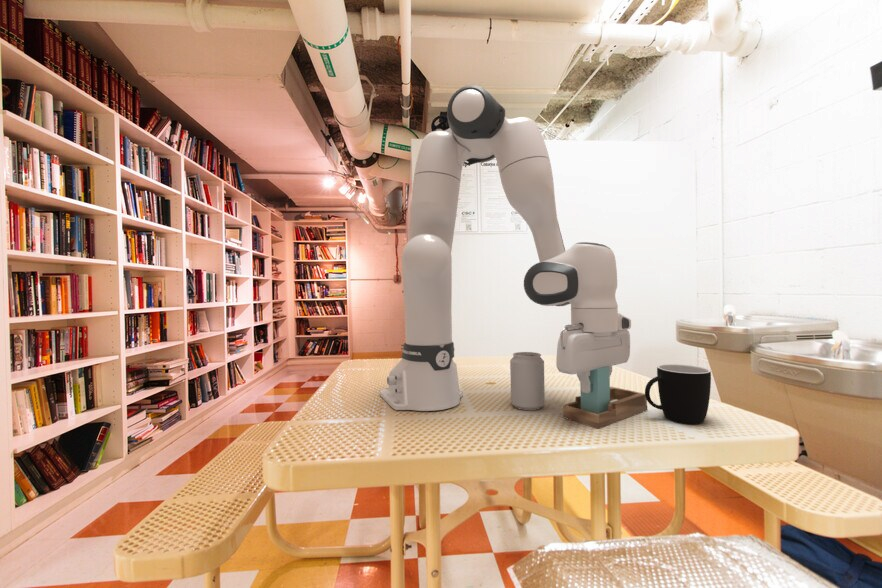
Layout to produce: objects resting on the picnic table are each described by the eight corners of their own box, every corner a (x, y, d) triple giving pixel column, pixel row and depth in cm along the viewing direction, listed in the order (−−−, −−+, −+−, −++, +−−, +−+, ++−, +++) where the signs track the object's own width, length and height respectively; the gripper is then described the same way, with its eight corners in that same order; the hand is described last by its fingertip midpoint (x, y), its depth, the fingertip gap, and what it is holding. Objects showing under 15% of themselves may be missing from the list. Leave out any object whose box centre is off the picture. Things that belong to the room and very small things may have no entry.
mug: (691, 411, 79) (690, 363, 79) (723, 426, 70) (722, 372, 70) (634, 412, 79) (633, 364, 79) (658, 427, 70) (658, 373, 70)
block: (598, 414, 73) (597, 368, 73) (580, 409, 76) (580, 365, 76) (610, 410, 75) (609, 366, 75) (592, 405, 79) (591, 363, 79)
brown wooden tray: (562, 417, 76) (562, 400, 76) (612, 401, 87) (612, 386, 87) (598, 428, 70) (598, 410, 70) (647, 410, 80) (647, 393, 80)
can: (548, 411, 80) (547, 355, 80) (513, 411, 81) (512, 356, 80) (540, 401, 88) (539, 350, 88) (508, 401, 88) (507, 350, 88)
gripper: (575, 326, 67) (576, 402, 67) (635, 319, 79) (636, 385, 79) (547, 324, 73) (548, 395, 73) (607, 318, 84) (608, 379, 84)
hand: (595, 389), depth 76 cm, fingers closed on block, 4 cm apart
